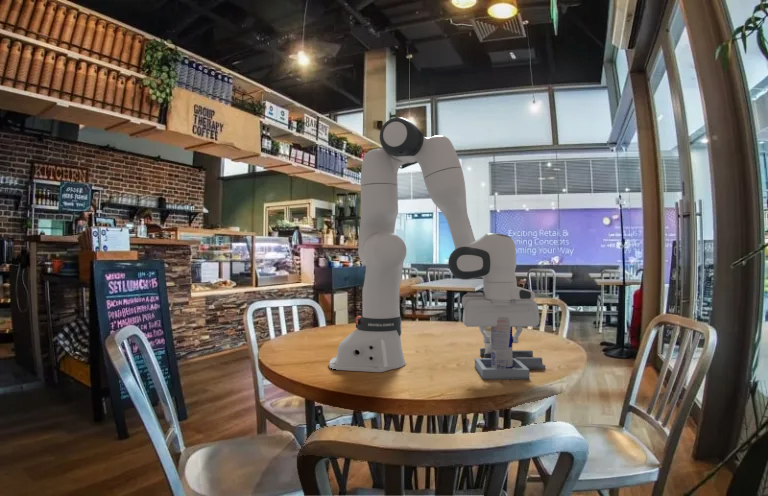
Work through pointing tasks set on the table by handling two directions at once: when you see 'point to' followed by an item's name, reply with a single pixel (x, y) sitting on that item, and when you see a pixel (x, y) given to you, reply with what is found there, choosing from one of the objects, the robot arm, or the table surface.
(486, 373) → the tray
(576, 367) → the table surface
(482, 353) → the clip
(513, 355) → the grey stepped base
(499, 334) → the beverage can
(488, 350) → the cylinder
